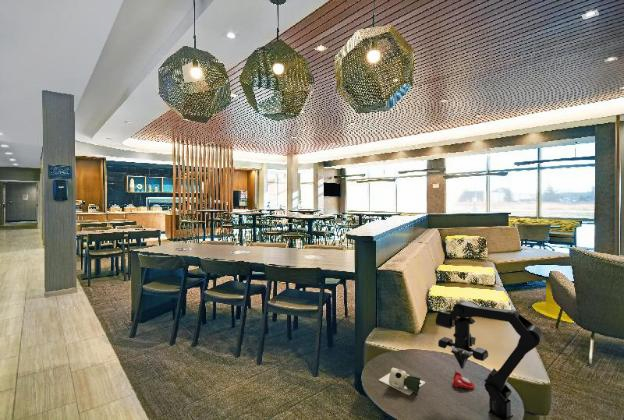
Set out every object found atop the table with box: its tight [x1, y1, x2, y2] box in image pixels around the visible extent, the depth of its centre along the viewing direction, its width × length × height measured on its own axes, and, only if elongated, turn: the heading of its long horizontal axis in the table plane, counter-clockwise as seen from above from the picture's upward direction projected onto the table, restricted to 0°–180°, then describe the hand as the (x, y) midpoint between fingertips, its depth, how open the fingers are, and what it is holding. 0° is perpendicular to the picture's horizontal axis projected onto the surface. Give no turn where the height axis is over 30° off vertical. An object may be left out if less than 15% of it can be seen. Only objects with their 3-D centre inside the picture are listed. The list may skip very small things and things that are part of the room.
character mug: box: [389, 367, 421, 394], centre depth 145 cm, size 11×7×13 cm
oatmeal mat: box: [378, 372, 426, 396], centre depth 151 cm, size 16×14×1 cm
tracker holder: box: [451, 370, 475, 391], centre depth 149 cm, size 12×4×10 cm
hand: (462, 368), depth 137 cm, fingers closed
